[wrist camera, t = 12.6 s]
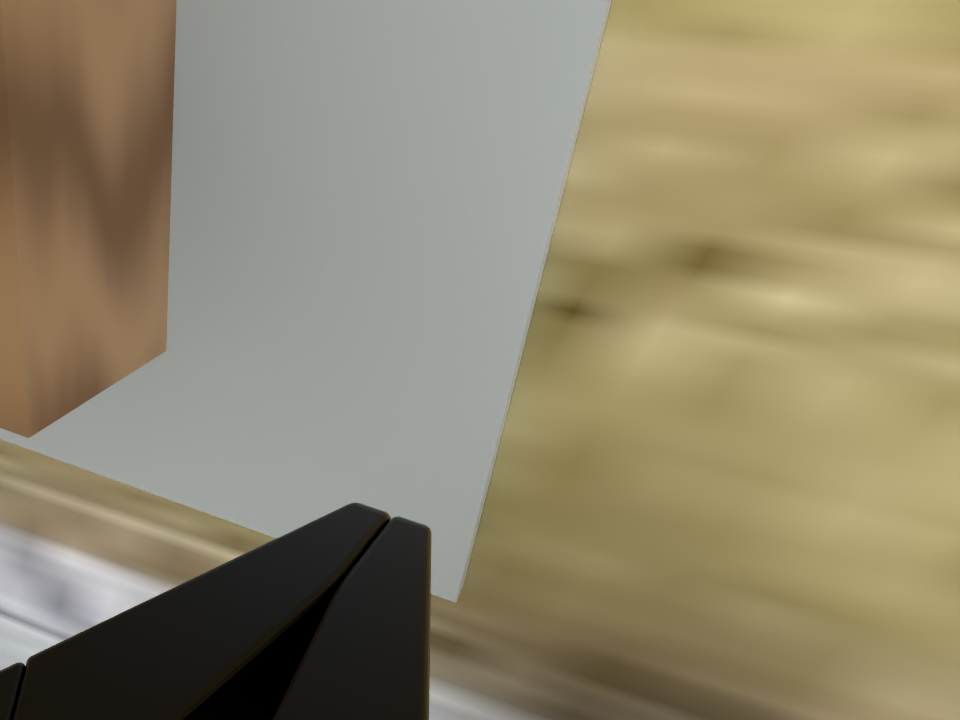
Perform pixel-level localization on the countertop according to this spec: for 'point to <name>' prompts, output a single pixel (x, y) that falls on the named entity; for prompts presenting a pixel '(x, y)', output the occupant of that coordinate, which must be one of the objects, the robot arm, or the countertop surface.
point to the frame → (82, 199)
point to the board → (348, 259)
